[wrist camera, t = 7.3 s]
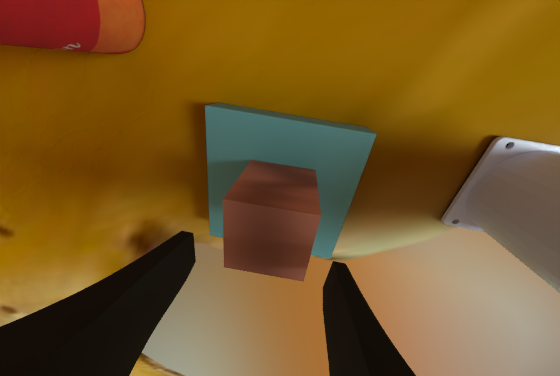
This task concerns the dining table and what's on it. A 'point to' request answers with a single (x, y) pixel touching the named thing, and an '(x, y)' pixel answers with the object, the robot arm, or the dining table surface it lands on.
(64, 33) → the paper cup
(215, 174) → the teal base board
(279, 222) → the red wood block
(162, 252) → the robot arm
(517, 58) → the dining table surface
